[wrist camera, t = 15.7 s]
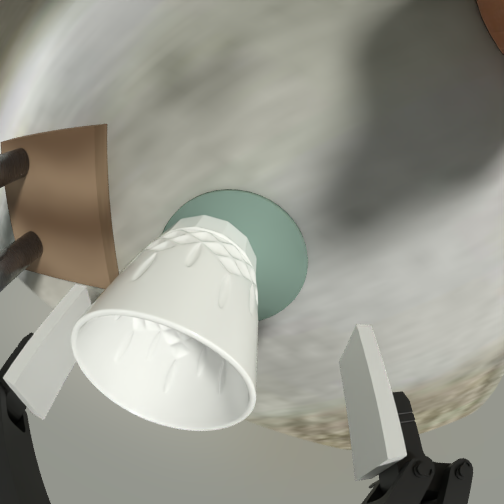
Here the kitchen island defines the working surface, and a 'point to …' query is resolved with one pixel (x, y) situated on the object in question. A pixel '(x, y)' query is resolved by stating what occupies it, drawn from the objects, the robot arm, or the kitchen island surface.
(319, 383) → the kitchen island surface
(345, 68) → the kitchen island surface
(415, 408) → the kitchen island surface
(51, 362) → the robot arm
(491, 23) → the potted plant
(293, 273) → the end coaster
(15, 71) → the kitchen island surface
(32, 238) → the bent wire
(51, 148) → the brown wooden board
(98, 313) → the white cup
